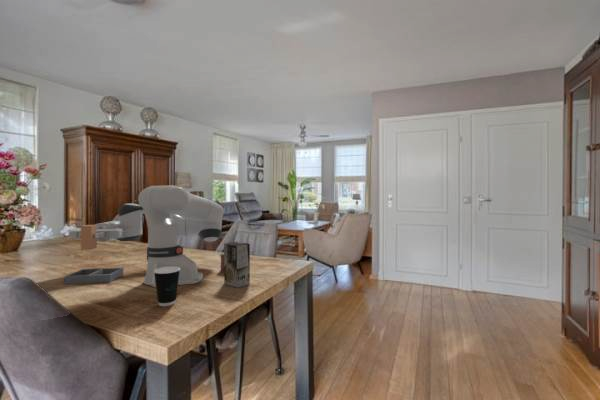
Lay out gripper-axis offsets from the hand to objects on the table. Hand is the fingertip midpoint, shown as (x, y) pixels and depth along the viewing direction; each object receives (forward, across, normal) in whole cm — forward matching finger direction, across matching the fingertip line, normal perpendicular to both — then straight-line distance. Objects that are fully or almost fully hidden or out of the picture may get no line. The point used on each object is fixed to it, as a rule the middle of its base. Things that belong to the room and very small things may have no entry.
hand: (87, 236), depth 122 cm
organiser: (+2, -4, -18) cm, 18 cm away
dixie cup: (+36, -41, -18) cm, 58 cm away
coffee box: (+18, -62, -18) cm, 68 cm away
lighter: (-3, -58, -18) cm, 60 cm away
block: (-1, 0, -6) cm, 6 cm away
